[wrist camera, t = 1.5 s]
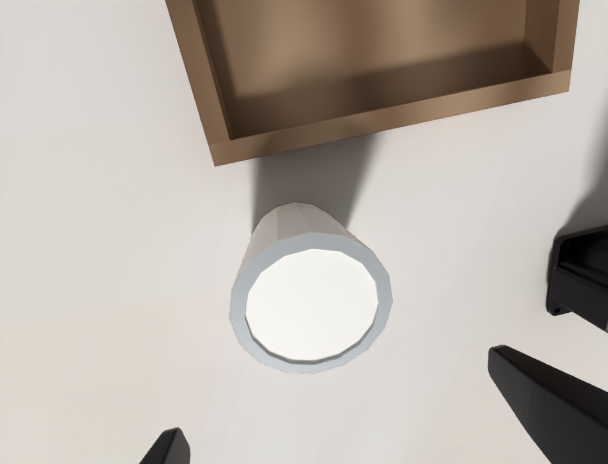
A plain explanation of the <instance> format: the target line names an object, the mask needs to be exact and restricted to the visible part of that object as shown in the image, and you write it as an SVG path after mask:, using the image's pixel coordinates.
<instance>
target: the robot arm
mask: <svg viewBox="0 0 608 464" xmlns="http://www.w3.org/2000/svg"><path fill="white" fill-rule="evenodd" d="M547 312H548V313H550V314H551V315H553V316H557V315H561V314H565V313H569V312H574V313H575V314H577V315H579V316H580V317H582V318H583V319H585V320H587V321H588V322H590V323H592V324H593V325H595V326H597V327H598V328H600V329H601V330H603V331H605V332H606V333H608V226H605V227H600V228H596V229H592V230H588V231H584V232H580V233H575V234H571V235H567V236H563V237H560V238H559V239H557V241H556V242H555V247H554V254H553V262H552V270H551V278H550V286H549V294H548V302H547ZM488 372H489V374H490V377H491V378H492V380H493V381H494V383H495V384H496V386H497V387H498V389H499V391H500V392H501V394H502V395H503V397H504V398H505V400H506V401H507V403H508V404H509V406H510V407H511V409H512V410H513V412H514V413H515V415H516V417H517V418H518V420H519V421H520V423H521V424H522V426H523V427H524V428H525V430H526V431H527V433H528V434H529V435H530V437H531V438H532V439H533V441H534V442H535V443H536V445H537V446H538V447H539V448H540V450H541V451H542V452H543V454H544V455H545V456H546V457H547V459H548V460H549V461H550V462H551V464H608V392H606V391H604V390H602V389H600V388H598V387H596V386H593V385H591V384H589V383H587V382H585V381H583V380H580V379H578V378H576V377H574V376H572V375H569V374H567V373H565V372H563V371H561V370H559V369H556V368H554V367H552V366H550V365H548V364H546V363H543V362H541V361H539V360H537V359H535V358H532V357H530V356H528V355H526V354H524V353H522V352H519V351H517V350H515V349H513V348H511V347H509V346H506V345H499V346H495V347H491V348H490V349H489V352H488ZM139 464H190V447H189V444H188V442H187V440H186V438H185V436H184V434H183V432H182V430H181V429H180V428H178V427H177V428H173V429H169V430H165V431H164V432H163V433H162V434H161V435H160V436H159V438H158V439H157V440H156V442H155V443H154V444H153V446H152V447H151V448H150V450H149V451H148V452H147V454H146V455H145V456H144V458H143V459H142V460H141V462H140V463H139Z"/></svg>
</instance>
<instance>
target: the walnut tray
mask: <svg viewBox="0 0 608 464" xmlns="http://www.w3.org/2000/svg"><path fill="white" fill-rule="evenodd" d="M165 1H166V5H167V8H168V11H169V15H170V18H171V22H172V25H173V28H174V32H175V35H176V38H177V42H178V45H179V48H180V52H181V55H182V58H183V62H184V65H185V68H186V72H187V75H188V79H189V82H190V85H191V89H192V92H193V95H194V99H195V102H196V105H197V109H198V112H199V115H200V119H201V122H202V125H203V129H204V132H205V135H206V139H207V142H208V146H209V149H210V152H211V156H212V159H213V162H214V166H220V165H225V164H229V163H234V162H239V161H243V160H248V159H253V158H258V157H262V156H267V155H272V154H276V153H281V152H286V151H291V150H295V149H300V148H305V147H309V146H314V145H319V144H323V143H328V142H333V141H338V140H342V139H347V138H352V137H356V136H361V135H366V134H371V133H375V132H380V131H385V130H389V129H394V128H399V127H404V126H408V125H413V124H418V123H422V122H427V121H432V120H436V119H441V118H446V117H451V116H455V115H460V114H465V113H469V112H474V111H479V110H484V109H488V108H493V107H498V106H502V105H507V104H512V103H517V102H521V101H526V100H531V99H535V98H540V97H545V96H549V95H554V94H559V93H564V92H568V91H569V85H570V76H571V68H572V60H573V52H574V43H575V35H576V27H577V19H578V10H579V2H580V0H165Z"/></svg>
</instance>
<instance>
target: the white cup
mask: <svg viewBox="0 0 608 464" xmlns="http://www.w3.org/2000/svg"><path fill="white" fill-rule="evenodd" d="M392 303H393V300H392V293H391V285H390V278H389V274H388V273H387V271H386V270H385V268H384V267H383V265H382V264H381V262H380V261H379V260H378V258H377V257H376V255H375V254H374V252H373V251H372V250H371V249H369V248H368V247H367V246H366V245H365V244H363V243H362V242H361V241H360V240H359V239H357V238H356V237H355V236H354V235H353V234H351V233H350V232H349V231H348V230H347V229H346V228H344V227H343V226H342V225H341V224H340V223H338V222H337V221H336V220H335V219H334V218H332V217H331V216H330V215H329V214H328V213H326V212H324V211H323V210H321V209H319V208H318V207H316V206H314V205H312V204H304V203H297V202H293V203H289V204H286V205H282V206H278V207H276V208H274V209H273V210H272V211H270V212H269V213H268V214H266V215H265V216H263V217H262V218H261V220H260V222H259V223H258V225H257V227H256V228H255V230H254V232H253V234H252V237H251V239H250V242H249V245H248V247H247V250H246V253H245V255H244V258H243V261H242V263H241V266H240V269H239V271H238V274H237V277H236V279H235V282H234V285H233V287H232V293H231V303H230V313H229V319H230V322H231V325H232V327H233V330H234V332H235V335H236V337H237V340H238V343H239V344H240V345H241V346H242V347H243V348H244V349H245V350H246V351H247V352H248V353H249V354H251V355H252V356H253V357H254V358H255V359H256V360H257V361H258V362H259V363H262V364H264V365H267V366H270V367H272V368H275V369H277V370H280V371H283V372H285V373H314V374H315V373H318V372H322V371H325V370H329V369H333V368H336V367H340V366H343V365H345V364H346V363H348V362H349V361H351V360H352V359H354V358H355V357H357V356H359V355H360V354H362V353H363V352H365V351H366V350H368V348H369V347H370V346H371V345H372V343H373V342H374V341H375V340H376V338H377V337H378V336H379V334H380V333H381V332H382V331H383V329H384V328H385V326H386V322H387V319H388V316H389V312H390V309H391V306H392Z"/></svg>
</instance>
